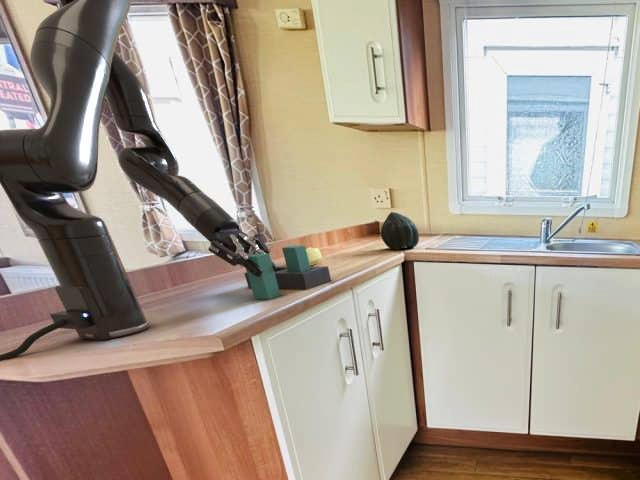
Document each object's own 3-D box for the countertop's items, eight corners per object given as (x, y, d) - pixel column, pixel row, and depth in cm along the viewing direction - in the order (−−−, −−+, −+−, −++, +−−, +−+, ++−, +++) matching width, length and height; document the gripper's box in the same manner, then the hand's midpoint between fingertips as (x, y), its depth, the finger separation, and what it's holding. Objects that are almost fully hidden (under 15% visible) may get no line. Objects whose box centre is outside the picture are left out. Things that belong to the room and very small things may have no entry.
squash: (422, 235, 168) (412, 204, 172) (384, 240, 164) (375, 208, 167) (421, 256, 181) (412, 227, 185) (386, 261, 177) (377, 231, 180)
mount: (306, 289, 109) (302, 273, 107) (248, 288, 113) (244, 273, 112) (331, 280, 118) (328, 266, 116) (276, 280, 122) (272, 266, 121)
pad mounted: (304, 286, 113) (294, 247, 108) (291, 286, 114) (281, 247, 109) (314, 283, 116) (305, 245, 112) (301, 283, 117) (292, 245, 113)
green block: (268, 299, 100) (256, 256, 96) (254, 299, 101) (241, 256, 97) (280, 295, 104) (269, 253, 99) (267, 295, 105) (255, 253, 100)
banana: (329, 240, 147) (284, 256, 132) (336, 255, 150) (293, 273, 134) (304, 249, 154) (258, 266, 138) (312, 264, 156) (268, 282, 141)
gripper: (185, 207, 89) (250, 266, 91) (239, 204, 101) (295, 256, 104) (175, 234, 93) (238, 290, 95) (228, 227, 105) (283, 277, 107)
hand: (267, 272), depth 99 cm, fingers closed on green block, 4 cm apart
